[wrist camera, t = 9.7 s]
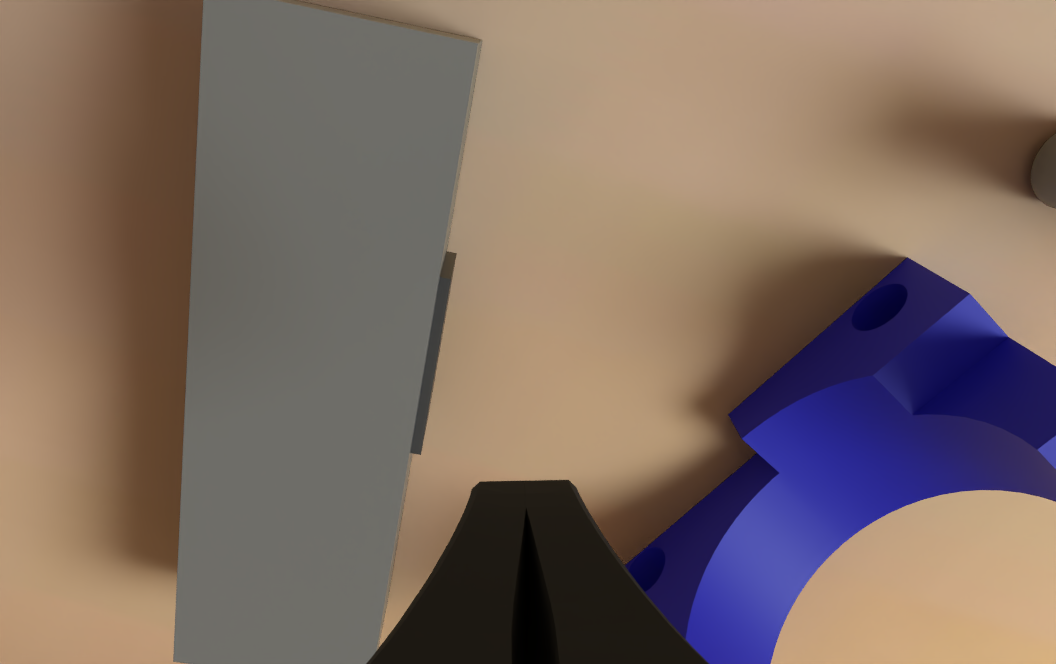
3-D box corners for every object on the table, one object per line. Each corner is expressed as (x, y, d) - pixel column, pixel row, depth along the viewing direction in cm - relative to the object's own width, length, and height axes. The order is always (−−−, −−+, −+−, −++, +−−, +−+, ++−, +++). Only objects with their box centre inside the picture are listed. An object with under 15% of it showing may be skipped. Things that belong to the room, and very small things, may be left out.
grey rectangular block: (394, 607, 23) (380, 688, 20) (214, 582, 22) (173, 661, 20) (493, 42, 17) (491, 46, 14) (254, -9, 17) (203, -15, 14)
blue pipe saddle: (903, 255, 20) (1062, 347, 14) (1003, 365, 21) (1185, 489, 15) (572, 546, 23) (594, 717, 17) (676, 627, 24) (728, 811, 18)
